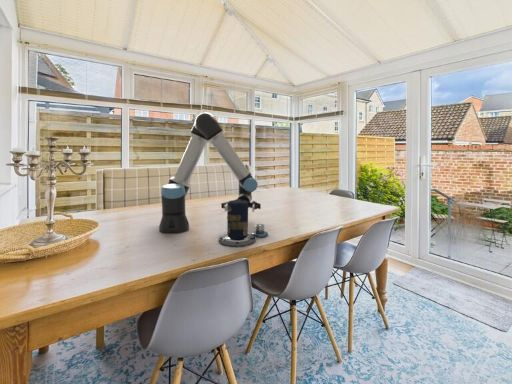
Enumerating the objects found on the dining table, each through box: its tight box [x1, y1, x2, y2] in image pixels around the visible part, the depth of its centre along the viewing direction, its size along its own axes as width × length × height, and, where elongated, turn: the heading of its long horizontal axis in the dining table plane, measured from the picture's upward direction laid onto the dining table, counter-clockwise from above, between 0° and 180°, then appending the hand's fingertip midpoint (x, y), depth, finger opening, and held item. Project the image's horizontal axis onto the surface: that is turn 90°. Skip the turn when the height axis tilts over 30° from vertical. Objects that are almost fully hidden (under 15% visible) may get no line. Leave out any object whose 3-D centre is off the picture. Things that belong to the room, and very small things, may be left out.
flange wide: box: [217, 233, 256, 248], centre depth 134 cm, size 17×17×2 cm
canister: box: [226, 198, 249, 239], centre depth 132 cm, size 10×10×18 cm
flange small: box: [251, 223, 269, 239], centre depth 143 cm, size 8×8×5 cm
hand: (239, 209), depth 141 cm, fingers open, 13 cm apart
